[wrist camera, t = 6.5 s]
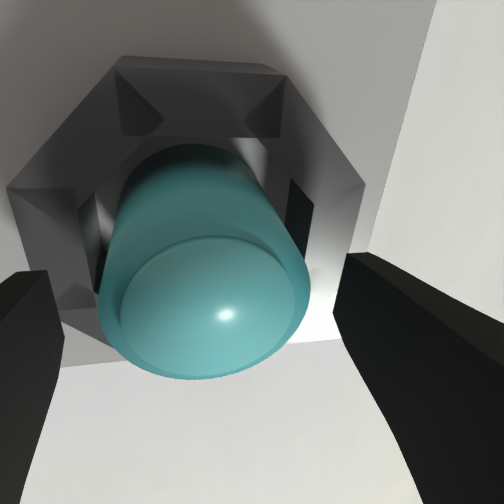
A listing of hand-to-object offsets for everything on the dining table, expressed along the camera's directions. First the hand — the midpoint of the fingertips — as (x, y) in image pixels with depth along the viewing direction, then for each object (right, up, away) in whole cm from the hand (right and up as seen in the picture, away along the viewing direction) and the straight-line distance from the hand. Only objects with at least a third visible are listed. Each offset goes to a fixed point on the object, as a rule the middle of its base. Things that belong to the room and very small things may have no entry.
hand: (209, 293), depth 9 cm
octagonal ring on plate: (-1, +3, +4) cm, 5 cm away
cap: (-1, +2, +4) cm, 4 cm away
